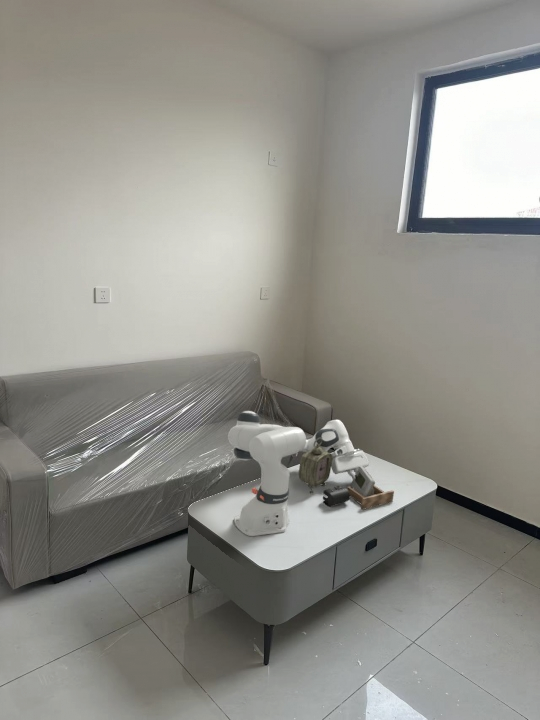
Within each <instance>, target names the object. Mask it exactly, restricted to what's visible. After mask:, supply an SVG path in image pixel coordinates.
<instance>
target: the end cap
mask: <svg viewBox="0 0 540 720" xmlns="http://www.w3.org/2000/svg"><path fill="white" fill-rule="evenodd" d="M333 489H335V490H333ZM333 489H331V488H325V489H324V490H323V493H322V494H323V495H325V496H322V503H323V504H324V505H326V506H327V507H329V508H331V507H334V506H337V505H340V504H344V503H347V502H349V501H350V498H351V497H350V493H349V491H348V490H347V488H346V487H345V488H343V487H342V486H340V485H337V486H333Z"/></svg>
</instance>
